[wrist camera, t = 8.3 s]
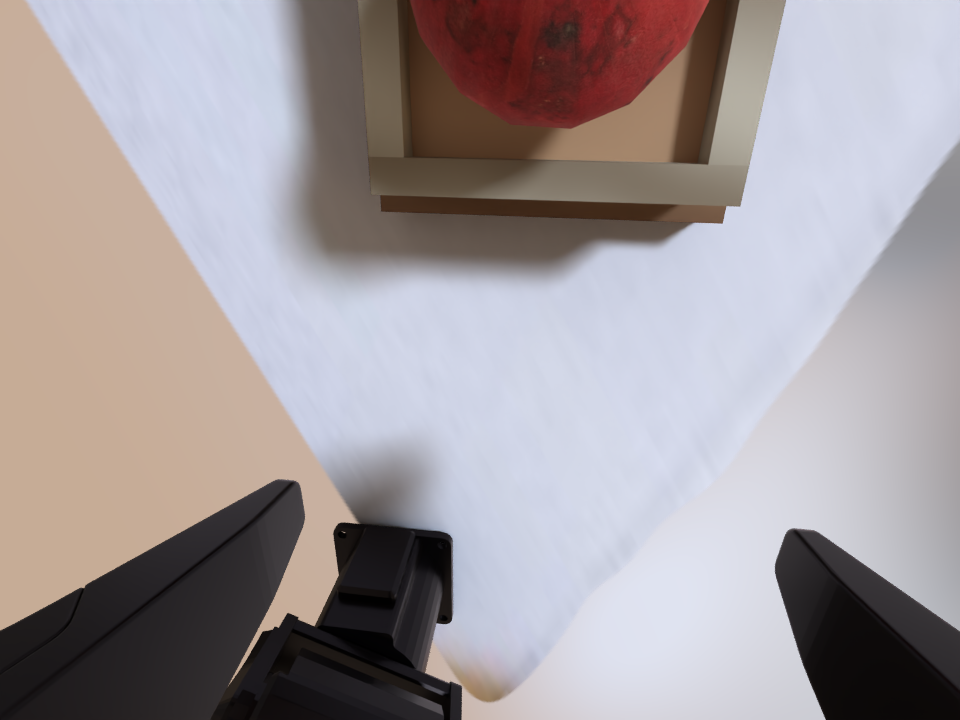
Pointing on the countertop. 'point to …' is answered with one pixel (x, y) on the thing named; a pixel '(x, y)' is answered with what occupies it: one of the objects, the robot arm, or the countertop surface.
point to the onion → (554, 52)
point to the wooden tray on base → (569, 130)
